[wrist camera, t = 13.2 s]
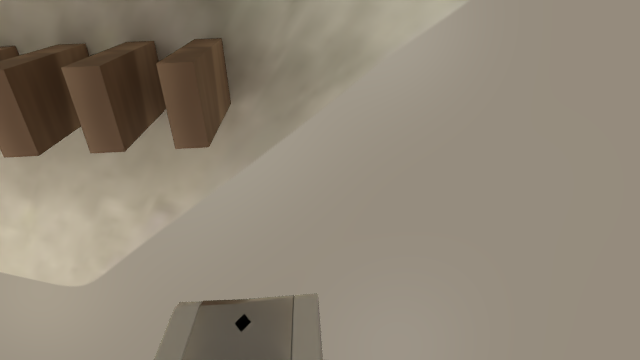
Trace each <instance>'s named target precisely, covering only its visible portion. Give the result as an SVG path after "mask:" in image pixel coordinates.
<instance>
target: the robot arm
mask: <svg viewBox="0 0 640 360" xmlns="http://www.w3.org/2000/svg"><path fill="white" fill-rule="evenodd" d="M154 360H323V355H322V341H321V328H320V313H319V301H318V294H303V295H295V296H294V295H292V296H278V297H265V298H252V299H238V300H213V301H201V302H180V303H179V304H178V305H177V306H176V307H175V308H174V310H173V313H172V316H171V318H170V320H169V323H168V326H167V328H166V331H165V333H164V336H163V338H162V340H161V343H160V346H159V348H158V351H157V353H156V356H155V358H154Z"/></svg>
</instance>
